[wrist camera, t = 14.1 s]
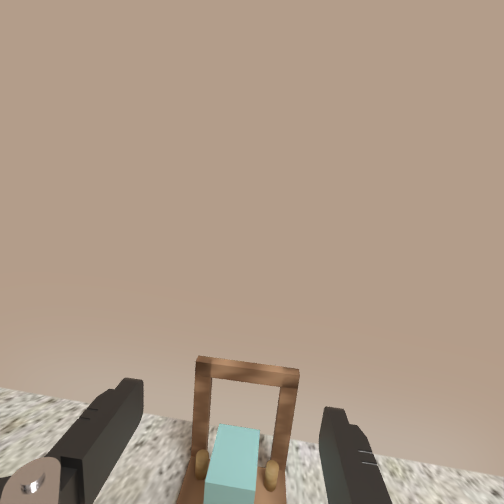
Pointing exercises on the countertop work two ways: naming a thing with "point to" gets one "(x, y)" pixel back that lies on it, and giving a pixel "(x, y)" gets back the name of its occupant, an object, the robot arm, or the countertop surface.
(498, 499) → the countertop surface
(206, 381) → the peg shelf
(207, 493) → the teal block
